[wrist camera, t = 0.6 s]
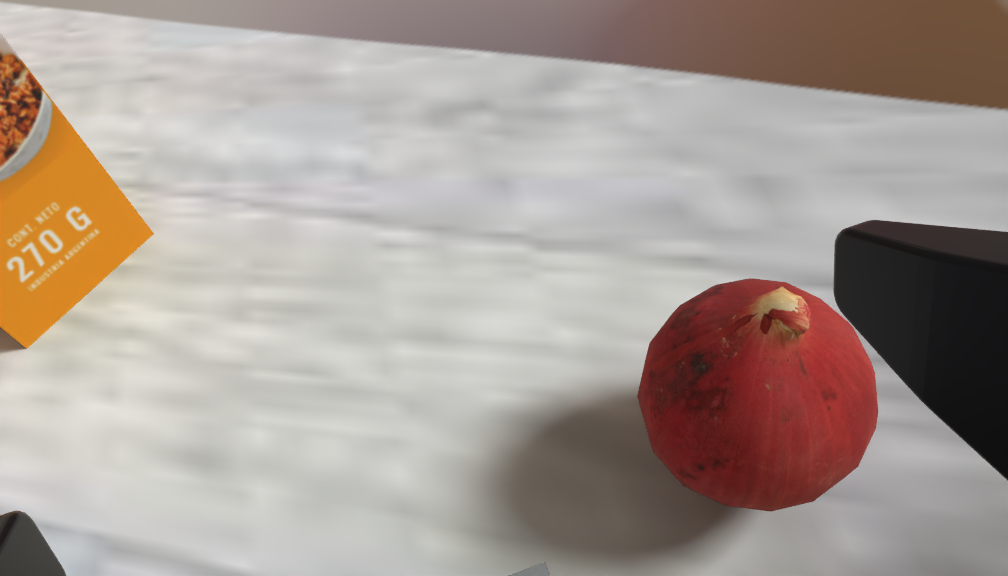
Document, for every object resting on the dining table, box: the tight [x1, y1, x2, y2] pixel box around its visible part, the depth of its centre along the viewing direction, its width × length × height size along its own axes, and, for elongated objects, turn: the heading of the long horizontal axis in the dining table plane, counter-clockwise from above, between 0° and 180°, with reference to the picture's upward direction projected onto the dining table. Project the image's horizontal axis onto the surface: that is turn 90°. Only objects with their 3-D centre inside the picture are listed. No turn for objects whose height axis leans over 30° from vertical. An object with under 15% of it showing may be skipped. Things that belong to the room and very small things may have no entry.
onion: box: [637, 279, 878, 511], centre depth 21 cm, size 6×6×8 cm
